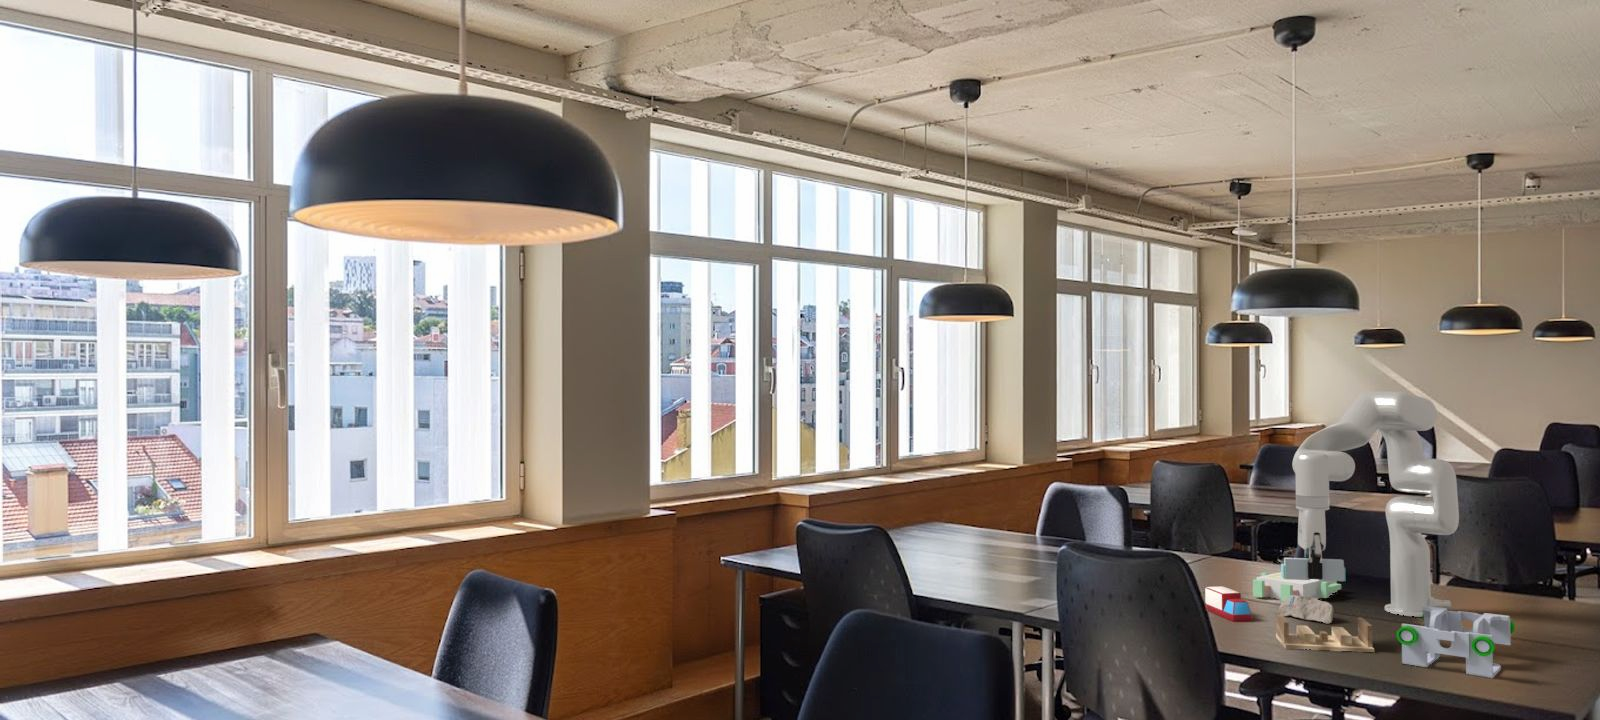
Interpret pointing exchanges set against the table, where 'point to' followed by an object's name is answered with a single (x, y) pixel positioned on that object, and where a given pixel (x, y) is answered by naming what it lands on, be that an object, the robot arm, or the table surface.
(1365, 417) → the robot arm
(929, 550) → the table surface
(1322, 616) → the concrete fragment
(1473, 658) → the bracket
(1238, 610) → the toy truck
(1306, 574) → the blocks in teal channel
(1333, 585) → the decorative block
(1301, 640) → the cradle
